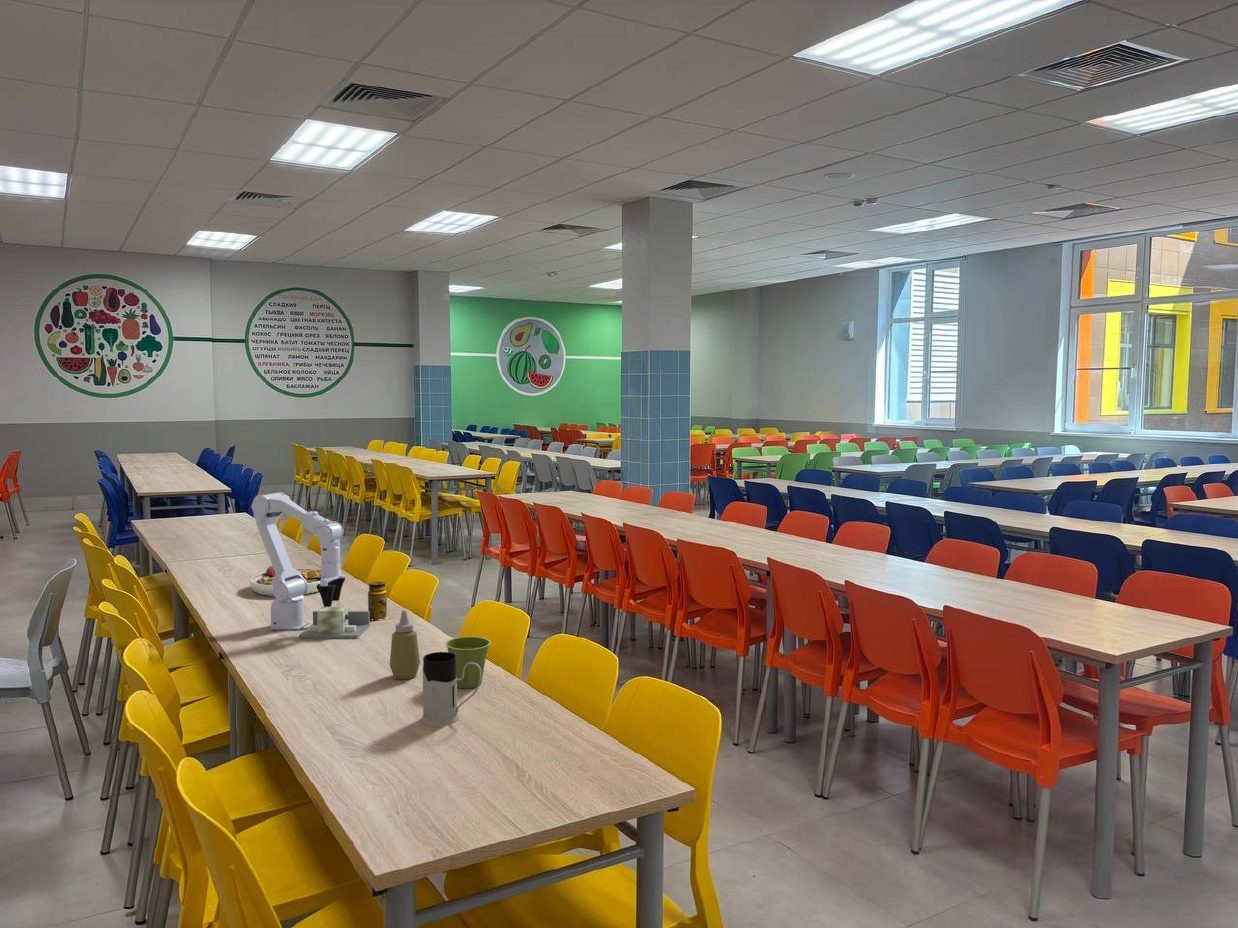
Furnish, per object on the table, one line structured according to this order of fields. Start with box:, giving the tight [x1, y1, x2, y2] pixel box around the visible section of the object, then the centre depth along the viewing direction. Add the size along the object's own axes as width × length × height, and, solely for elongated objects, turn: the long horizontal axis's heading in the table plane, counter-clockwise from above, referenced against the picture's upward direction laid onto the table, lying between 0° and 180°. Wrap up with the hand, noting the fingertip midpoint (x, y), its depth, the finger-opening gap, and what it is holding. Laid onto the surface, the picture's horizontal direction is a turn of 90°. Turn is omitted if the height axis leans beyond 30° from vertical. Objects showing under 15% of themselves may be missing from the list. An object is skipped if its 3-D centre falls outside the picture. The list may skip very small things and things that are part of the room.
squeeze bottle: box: [389, 610, 421, 680], centre depth 232 cm, size 8×8×18 cm
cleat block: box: [316, 606, 349, 633], centre depth 271 cm, size 9×5×7 cm, turn 91°
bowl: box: [249, 565, 321, 597], centre depth 332 cm, size 30×30×8 cm
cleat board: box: [298, 610, 371, 640], centre depth 274 cm, size 18×14×5 cm
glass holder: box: [420, 651, 482, 727], centre depth 202 cm, size 9×14×15 cm, turn 88°
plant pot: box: [444, 635, 492, 689], centre depth 226 cm, size 12×12×11 cm
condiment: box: [367, 581, 391, 622], centre depth 290 cm, size 7×8×12 cm
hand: (331, 603), depth 273 cm, fingers open, 7 cm apart
